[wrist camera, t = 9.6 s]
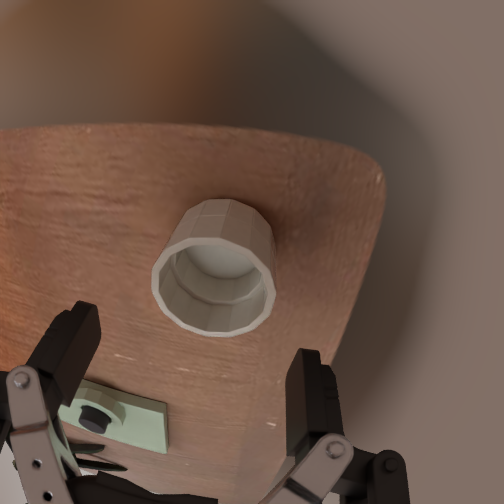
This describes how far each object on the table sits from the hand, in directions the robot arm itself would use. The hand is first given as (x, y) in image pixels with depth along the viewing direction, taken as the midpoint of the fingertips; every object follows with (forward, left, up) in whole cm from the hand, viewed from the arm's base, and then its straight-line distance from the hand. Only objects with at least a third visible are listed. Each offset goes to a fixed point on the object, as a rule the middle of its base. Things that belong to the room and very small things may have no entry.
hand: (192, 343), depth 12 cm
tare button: (+11, +23, -6) cm, 26 cm away
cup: (0, 0, -9) cm, 9 cm away
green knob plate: (+12, +27, -9) cm, 31 cm away
